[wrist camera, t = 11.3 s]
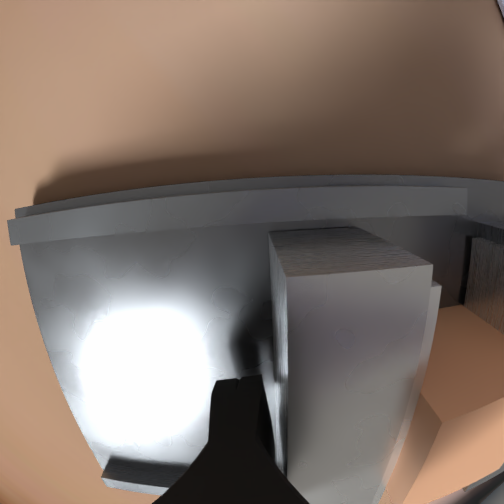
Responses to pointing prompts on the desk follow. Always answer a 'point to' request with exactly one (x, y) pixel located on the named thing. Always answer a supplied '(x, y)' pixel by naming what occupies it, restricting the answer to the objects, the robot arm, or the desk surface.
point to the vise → (216, 293)
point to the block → (454, 412)
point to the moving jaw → (346, 357)
